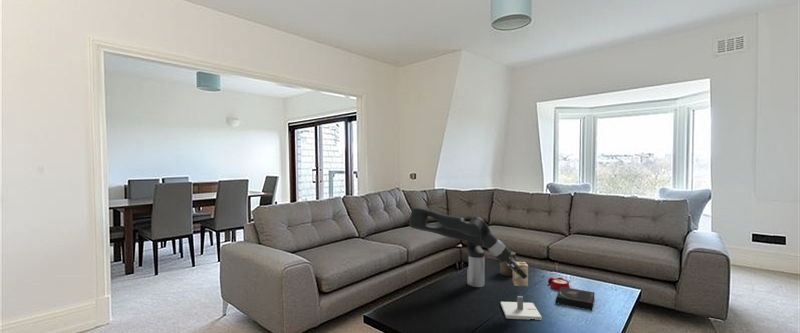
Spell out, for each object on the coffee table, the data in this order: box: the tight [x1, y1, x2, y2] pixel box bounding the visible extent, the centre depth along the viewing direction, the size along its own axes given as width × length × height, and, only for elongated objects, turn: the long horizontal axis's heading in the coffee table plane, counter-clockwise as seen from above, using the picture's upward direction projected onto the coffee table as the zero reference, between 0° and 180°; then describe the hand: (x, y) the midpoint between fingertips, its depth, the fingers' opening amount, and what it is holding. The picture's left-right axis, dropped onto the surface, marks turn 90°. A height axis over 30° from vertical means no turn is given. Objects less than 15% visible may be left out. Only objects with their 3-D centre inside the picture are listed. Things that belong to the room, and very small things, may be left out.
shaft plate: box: [500, 295, 543, 321], centre depth 178 cm, size 16×16×8 cm
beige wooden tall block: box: [512, 261, 529, 287], centre depth 178 cm, size 6×6×10 cm
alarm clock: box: [547, 277, 573, 291], centre depth 212 cm, size 10×6×15 cm
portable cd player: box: [554, 287, 595, 311], centre depth 191 cm, size 16×17×4 cm
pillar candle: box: [499, 251, 517, 277], centre depth 235 cm, size 10×10×15 cm
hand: (523, 275), depth 178 cm, fingers closed on beige wooden tall block, 6 cm apart
